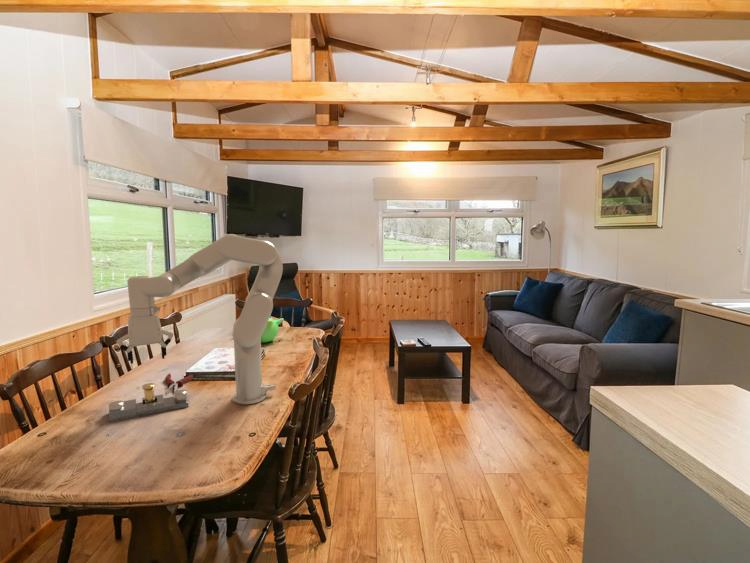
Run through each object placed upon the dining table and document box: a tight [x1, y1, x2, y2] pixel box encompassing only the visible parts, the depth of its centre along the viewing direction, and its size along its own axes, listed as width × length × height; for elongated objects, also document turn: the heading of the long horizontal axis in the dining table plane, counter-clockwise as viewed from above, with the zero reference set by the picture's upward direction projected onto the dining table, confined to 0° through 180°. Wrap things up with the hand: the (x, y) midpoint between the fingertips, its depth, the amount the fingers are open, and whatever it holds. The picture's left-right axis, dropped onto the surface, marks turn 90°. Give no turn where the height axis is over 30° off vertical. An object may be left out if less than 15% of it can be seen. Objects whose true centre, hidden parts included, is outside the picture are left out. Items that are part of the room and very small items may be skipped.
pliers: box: [164, 373, 193, 394], centre depth 170 cm, size 12×20×3 cm, turn 13°
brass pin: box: [141, 382, 156, 404], centre depth 147 cm, size 4×4×9 cm
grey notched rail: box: [108, 389, 190, 423], centre depth 147 cm, size 24×9×4 cm, turn 119°
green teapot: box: [261, 317, 285, 344], centre depth 233 cm, size 18×17×15 cm
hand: (147, 360), depth 145 cm, fingers open, 9 cm apart
